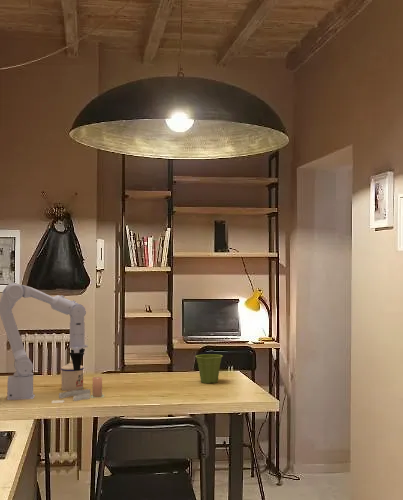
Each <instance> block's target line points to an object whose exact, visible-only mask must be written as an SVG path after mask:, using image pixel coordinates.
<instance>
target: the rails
mask: <svg viewBox="0 0 403 500" xmlns="http://www.w3.org/2000/svg"><path fill="white" fill-rule="evenodd" d="M68 397H73V398H72V399H73V401H74V402H78V401H82V400H90V399H91V389H82V390H71V391H63V392H59V393H58V398H59V399H64V398H68Z"/></svg>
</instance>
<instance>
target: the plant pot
mask: <svg viewBox="0 0 403 500" xmlns="http://www.w3.org/2000/svg"><path fill="white" fill-rule="evenodd" d="M223 357H224V355H222V354H213V353H212V354H211V353H208V354H205V353H204V354H197V355H195V359H196V363H197V367H198V370H199V373H198V374H199V379H200V382H201V383H202V384H211V383H213V384H216V383H218V382H219V377H220V376H219V375H220V368H221V363H222V358H223Z"/></svg>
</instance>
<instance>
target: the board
mask: <svg viewBox="0 0 403 500" xmlns="http://www.w3.org/2000/svg"><path fill="white" fill-rule="evenodd" d="M95 398H96V399H97V398H99V399H100V398H105V394H102V396H101V397H93V394H90V399H95ZM63 403H65V399H60V400H59V399H57V400H56V399H55V400H51V404H63Z"/></svg>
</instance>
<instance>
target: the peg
mask: <svg viewBox="0 0 403 500" xmlns="http://www.w3.org/2000/svg"><path fill="white" fill-rule="evenodd" d="M92 395H93V397H99V398H102V397H101V396H102V395H103V377H102V376H93V377H92Z"/></svg>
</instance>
